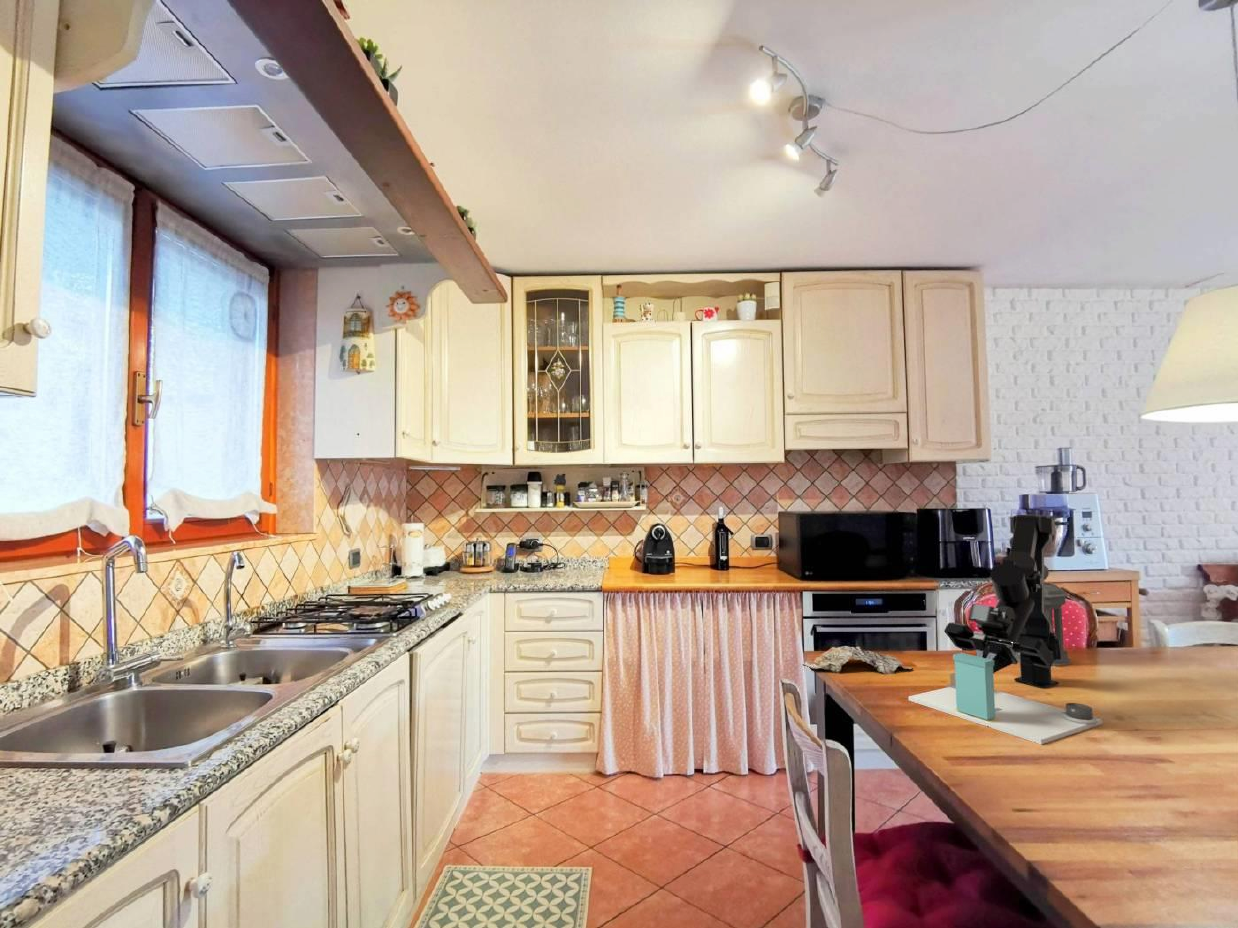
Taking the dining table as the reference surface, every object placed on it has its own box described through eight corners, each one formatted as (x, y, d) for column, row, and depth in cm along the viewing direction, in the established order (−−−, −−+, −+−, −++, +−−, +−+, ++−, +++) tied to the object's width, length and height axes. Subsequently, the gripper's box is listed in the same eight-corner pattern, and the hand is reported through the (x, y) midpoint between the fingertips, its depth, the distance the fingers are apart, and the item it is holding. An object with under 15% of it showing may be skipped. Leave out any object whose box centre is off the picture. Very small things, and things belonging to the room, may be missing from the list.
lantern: (1086, 661, 155) (1078, 526, 157) (1048, 670, 148) (1041, 528, 150) (1019, 647, 170) (1012, 524, 172) (982, 654, 163) (976, 525, 165)
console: (965, 685, 136) (964, 669, 136) (1105, 724, 112) (1104, 705, 112) (906, 699, 127) (905, 682, 127) (1045, 745, 103) (1044, 724, 103)
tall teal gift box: (964, 707, 119) (961, 652, 119) (996, 717, 113) (994, 660, 114) (955, 709, 117) (952, 654, 118) (987, 720, 112) (985, 662, 112)
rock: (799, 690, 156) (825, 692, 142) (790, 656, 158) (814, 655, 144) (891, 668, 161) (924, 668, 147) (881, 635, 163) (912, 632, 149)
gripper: (947, 583, 128) (915, 642, 122) (1042, 595, 111) (1009, 663, 106) (972, 617, 131) (942, 675, 125) (1067, 634, 115) (1037, 701, 109)
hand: (979, 678), depth 116 cm, fingers closed, pressing on tall teal gift box
